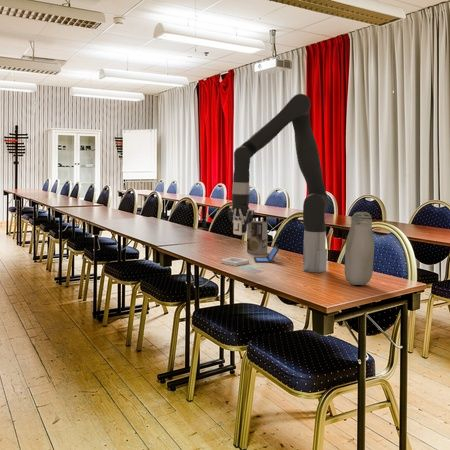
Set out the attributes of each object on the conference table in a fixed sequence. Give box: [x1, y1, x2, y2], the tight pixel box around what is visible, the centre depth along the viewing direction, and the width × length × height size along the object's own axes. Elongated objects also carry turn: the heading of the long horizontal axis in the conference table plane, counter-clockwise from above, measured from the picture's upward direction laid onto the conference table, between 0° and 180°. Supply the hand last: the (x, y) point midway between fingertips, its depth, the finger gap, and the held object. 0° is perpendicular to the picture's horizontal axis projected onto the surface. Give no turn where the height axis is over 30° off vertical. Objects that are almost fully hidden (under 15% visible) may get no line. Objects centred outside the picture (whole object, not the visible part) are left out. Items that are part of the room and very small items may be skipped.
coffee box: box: [246, 220, 269, 255], centre depth 250 cm, size 9×6×16 cm
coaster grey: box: [245, 268, 265, 274], centre depth 204 cm, size 6×6×1 cm
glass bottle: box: [344, 211, 375, 286], centre depth 184 cm, size 10×10×28 cm
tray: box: [220, 256, 250, 267], centre depth 220 cm, size 9×9×2 cm
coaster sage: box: [246, 263, 265, 269], centre depth 214 cm, size 6×6×1 cm
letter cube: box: [232, 219, 247, 236], centre depth 212 cm, size 4×4×6 cm
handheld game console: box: [253, 244, 279, 264], centre depth 228 cm, size 12×11×7 cm
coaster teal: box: [235, 265, 254, 271], centre depth 210 cm, size 6×6×1 cm
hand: (239, 232), depth 213 cm, fingers closed on letter cube, 4 cm apart
